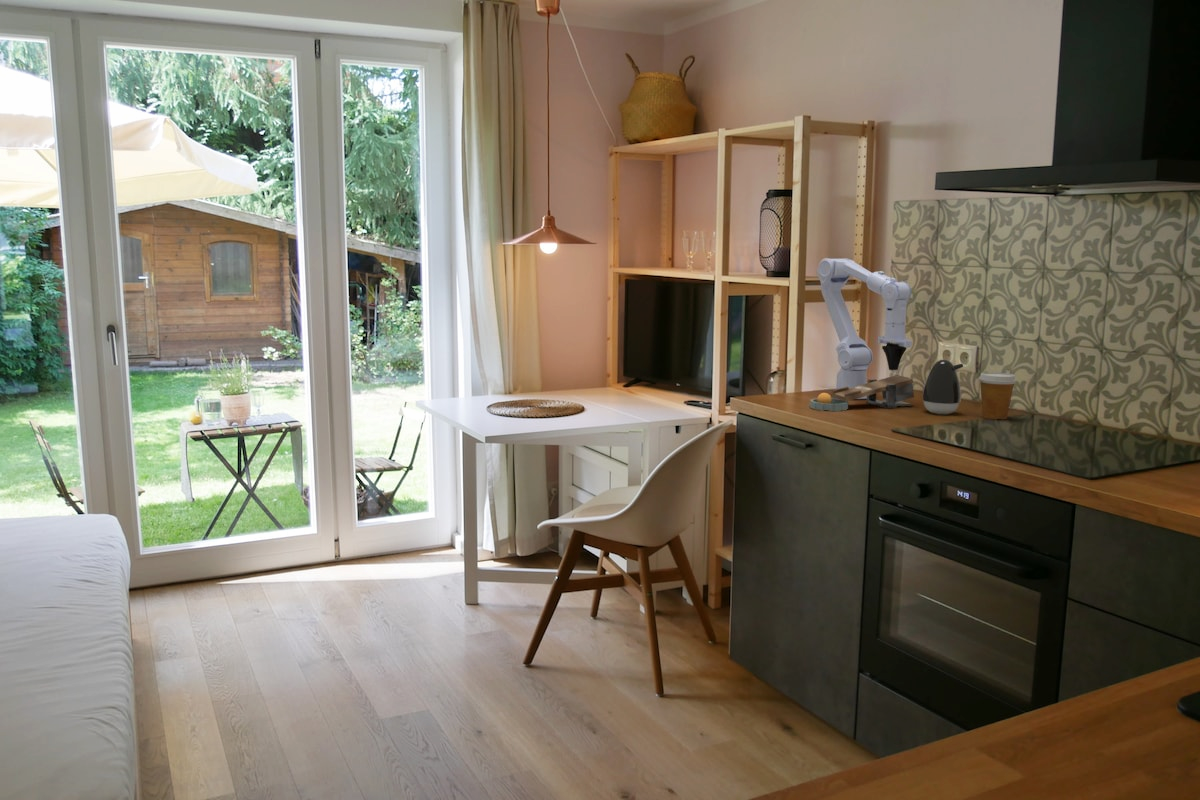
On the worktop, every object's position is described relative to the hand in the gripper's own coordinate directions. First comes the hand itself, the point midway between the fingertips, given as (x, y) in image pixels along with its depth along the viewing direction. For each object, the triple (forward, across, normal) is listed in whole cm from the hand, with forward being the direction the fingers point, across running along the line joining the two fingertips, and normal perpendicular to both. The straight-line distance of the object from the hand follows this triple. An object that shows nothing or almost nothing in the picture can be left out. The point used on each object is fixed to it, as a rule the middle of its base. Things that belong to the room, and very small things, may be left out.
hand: (893, 369), depth 288 cm
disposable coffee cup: (+11, -26, -16) cm, 32 cm away
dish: (+10, 0, +21) cm, 23 cm away
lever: (+10, -1, +6) cm, 12 cm away
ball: (+8, 0, +23) cm, 24 cm away
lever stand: (+10, 0, +1) cm, 10 cm away
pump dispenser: (+11, -16, -6) cm, 20 cm away
